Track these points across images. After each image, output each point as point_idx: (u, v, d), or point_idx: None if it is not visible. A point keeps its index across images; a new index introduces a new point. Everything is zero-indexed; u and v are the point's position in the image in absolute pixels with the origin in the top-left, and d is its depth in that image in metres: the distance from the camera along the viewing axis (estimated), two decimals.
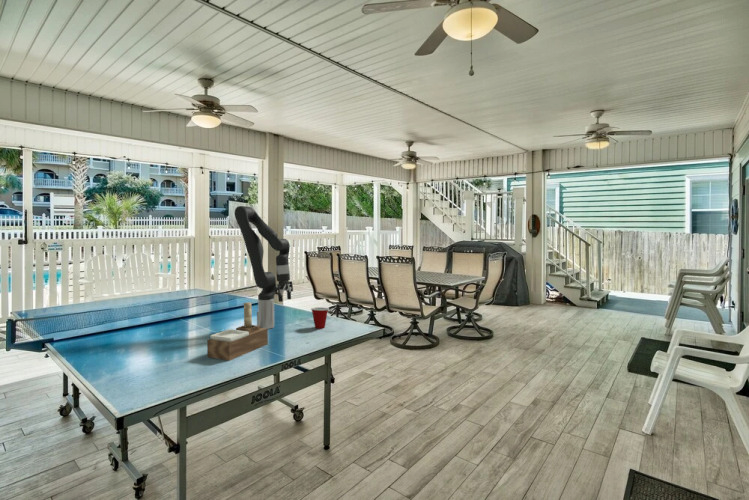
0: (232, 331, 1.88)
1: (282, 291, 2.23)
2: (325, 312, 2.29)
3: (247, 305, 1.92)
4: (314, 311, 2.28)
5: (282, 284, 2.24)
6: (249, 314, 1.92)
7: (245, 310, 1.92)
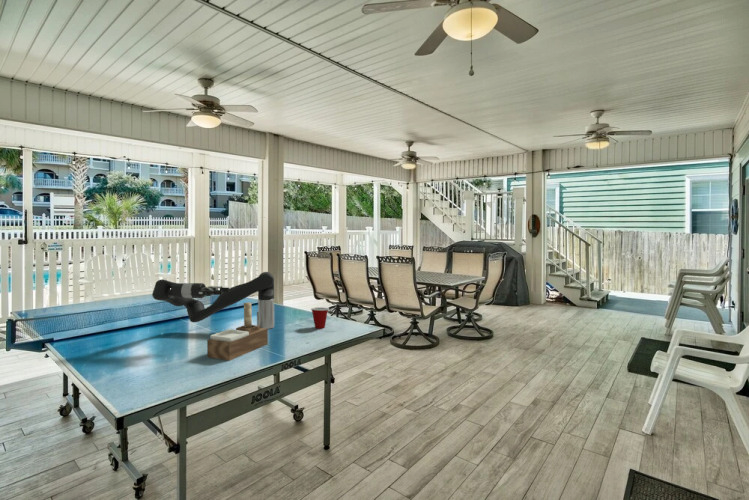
0: (232, 331, 1.88)
1: (210, 289, 1.90)
2: (325, 312, 2.29)
3: (247, 305, 1.92)
4: (314, 311, 2.28)
5: (203, 289, 1.91)
6: (249, 314, 1.92)
7: (245, 310, 1.92)
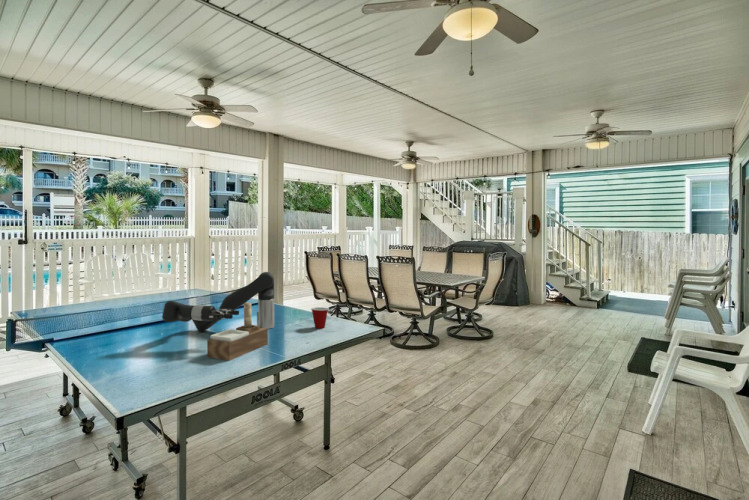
0: (232, 331, 1.88)
1: (221, 312, 1.90)
2: (325, 312, 2.29)
3: (247, 305, 1.92)
4: (314, 311, 2.28)
5: (214, 312, 1.90)
6: (249, 314, 1.92)
7: (245, 310, 1.92)
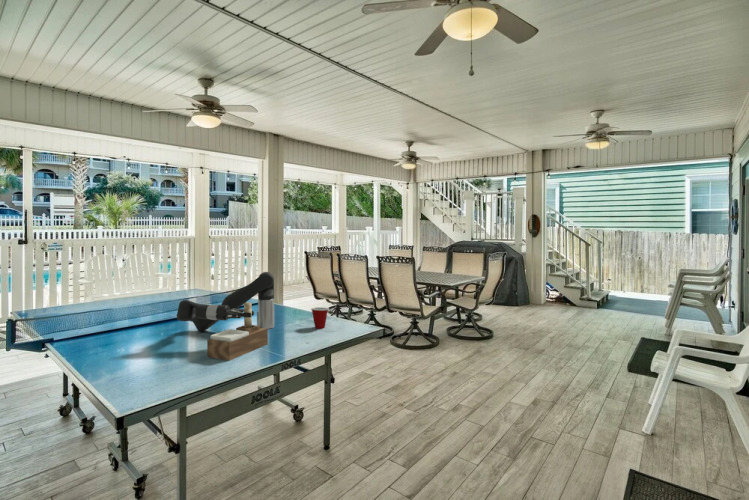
0: (232, 331, 1.88)
1: (238, 311, 1.91)
2: (325, 312, 2.29)
3: (247, 305, 1.92)
4: (314, 311, 2.28)
5: (230, 312, 1.91)
6: None
7: (245, 310, 1.92)
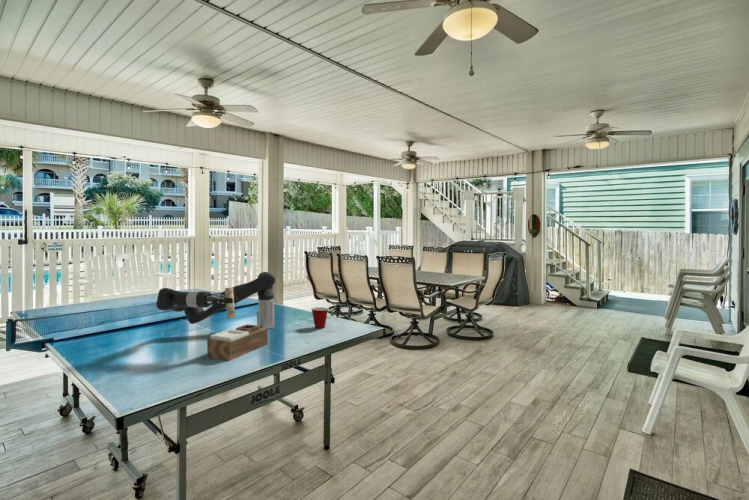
0: (232, 331, 1.88)
1: (219, 297, 1.80)
2: (325, 312, 2.29)
3: (228, 290, 1.81)
4: (314, 311, 2.28)
5: (210, 298, 1.80)
6: None
7: (226, 295, 1.81)
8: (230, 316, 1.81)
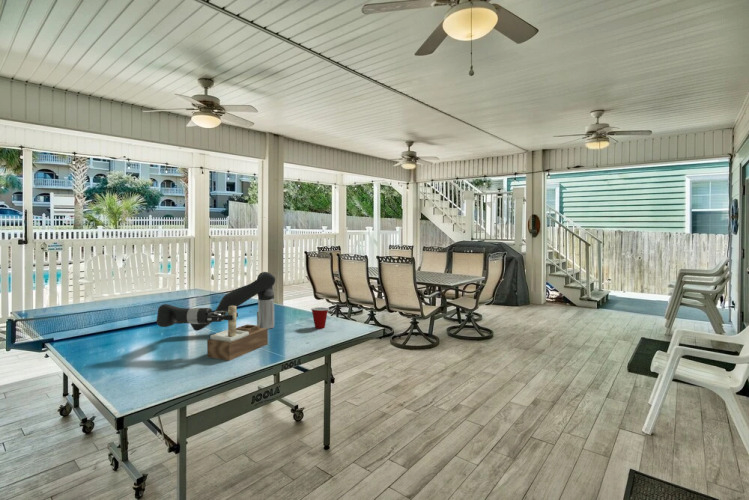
0: None
1: (220, 314, 1.79)
2: (325, 312, 2.29)
3: (231, 309, 1.80)
4: (314, 311, 2.28)
5: (211, 315, 1.79)
6: (233, 318, 1.81)
7: (229, 314, 1.80)
8: (231, 335, 1.81)
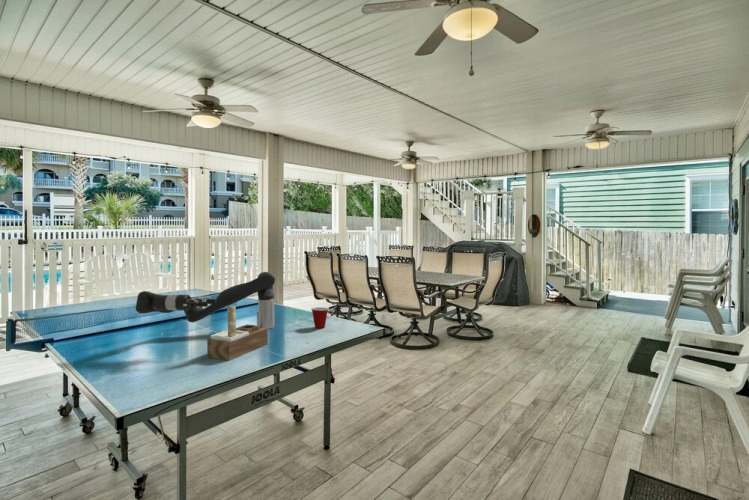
0: None
1: (195, 301, 1.81)
2: (325, 312, 2.29)
3: (231, 308, 1.80)
4: (314, 311, 2.28)
5: (188, 301, 1.82)
6: (233, 318, 1.81)
7: (229, 314, 1.80)
8: (231, 335, 1.81)
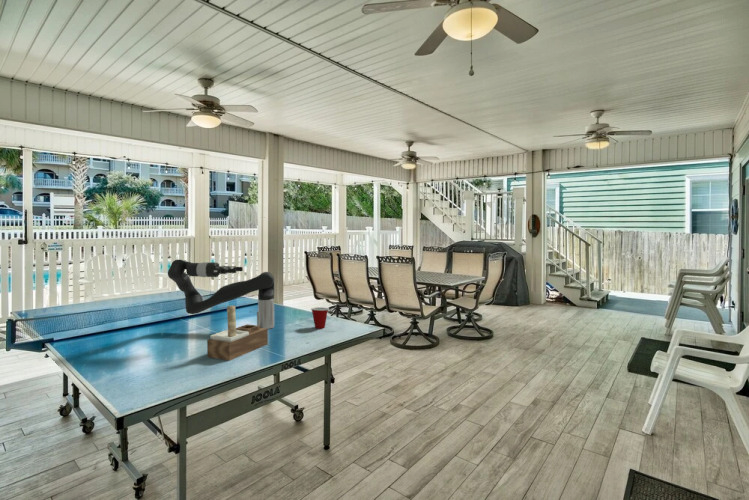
0: None
1: (225, 267, 1.95)
2: (325, 312, 2.29)
3: (230, 309, 1.80)
4: (314, 311, 2.28)
5: (218, 268, 1.96)
6: (233, 318, 1.81)
7: (228, 314, 1.80)
8: (231, 335, 1.81)
